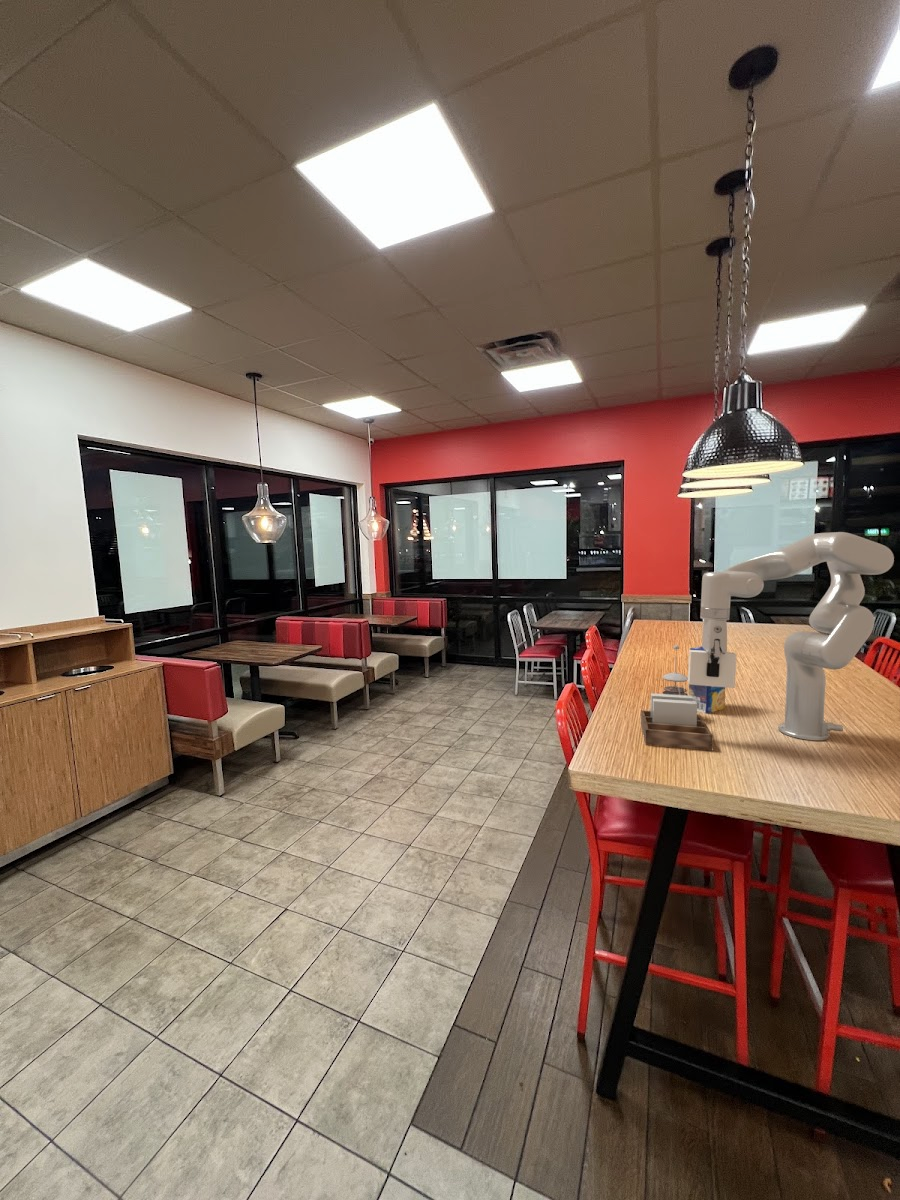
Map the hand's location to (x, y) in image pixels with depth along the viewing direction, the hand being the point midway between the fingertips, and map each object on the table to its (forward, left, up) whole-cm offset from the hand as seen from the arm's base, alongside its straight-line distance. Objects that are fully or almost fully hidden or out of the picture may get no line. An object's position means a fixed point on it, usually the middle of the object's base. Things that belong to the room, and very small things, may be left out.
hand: (711, 674), depth 142 cm
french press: (+7, -18, -20) cm, 28 cm away
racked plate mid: (+10, 0, -20) cm, 22 cm away
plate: (0, 0, -3) cm, 3 cm away
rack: (+10, 0, -20) cm, 22 cm away
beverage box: (-5, -31, -20) cm, 37 cm away
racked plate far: (+10, -5, -20) cm, 23 cm away
